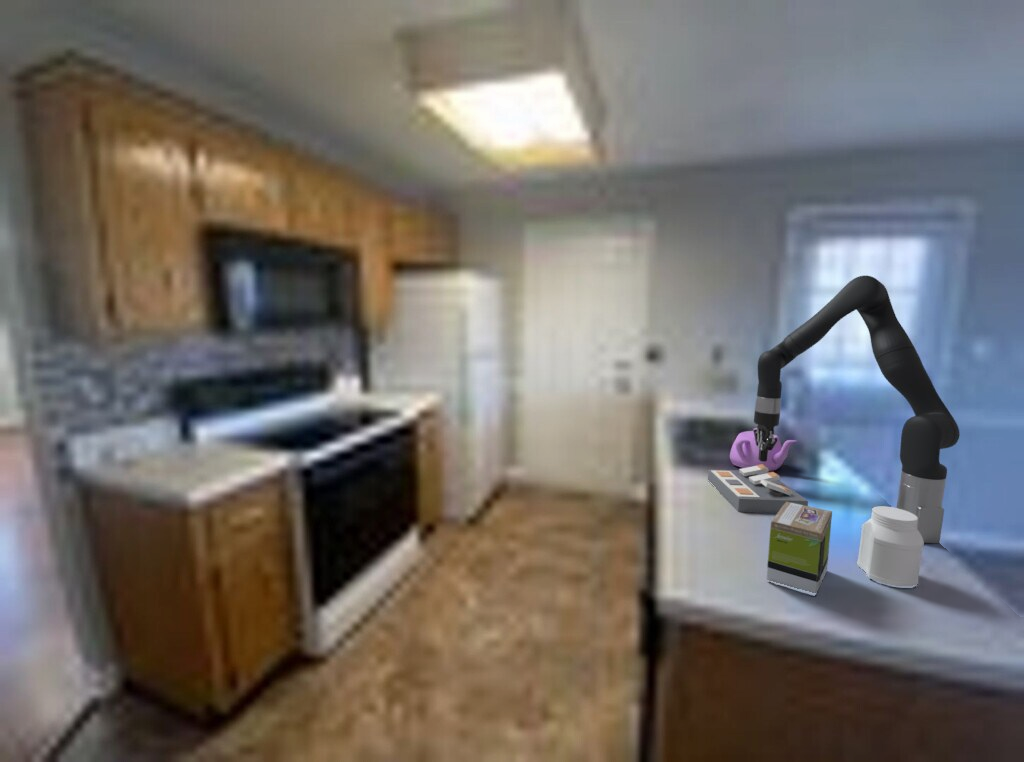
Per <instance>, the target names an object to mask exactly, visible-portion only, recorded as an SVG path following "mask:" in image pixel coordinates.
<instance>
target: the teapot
mask: <svg viewBox="0 0 1024 762" xmlns="http://www.w3.org/2000/svg"><path fill="white" fill-rule="evenodd" d="M754 429H757V427H755V428H753V430H747V431H742V432H740V433H738V435H737V436H736V439H735V440H734V441H733V443H732V446H731V449H730V453H729V459H730V461H731V463H732V464H733V465H734V466H736V467H739V468H740V469H742V468H747V467H752V466H756V465H760V464H763V465H764V466H766V467H767V468H768V470H769V472H774V471H776V470H778V469H779V468H780V467H781V466H782V465H783V464H784V461H785V460H786V459H787V458H788V453H789V449H790V446H791V445H792V444H794V443H796V442H797V440H795V439H788V440H786V441H785V442H784V443H783V445H782V443H781V440H780V438H779V436H778V435H777V434H774V438H777V442H776V444H775V446H774V447H773V449H772V450H769V451H768V455H767V461H766V462H763V461H760V460H759V459H758V457H759V449H758V446H756V441H755V436H754Z"/></svg>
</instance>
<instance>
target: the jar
mask: <svg viewBox="0 0 1024 762" xmlns="http://www.w3.org/2000/svg"><path fill="white" fill-rule="evenodd" d="M917 522H918V518H917V516H916V515H914V514H912V513H910V512H908V511H905V510H902V509H898V508H897V507H893V506H892V507H891V506H886V505H885V506H884V505H882V506H881V505H880V506H879V505H878V506H874V507H873V508H872V509H871V517H870V518H869V519H868V520H866V522H864V523H863V524H862V525H861V533H860V542H859V550H858V557H857V558H858V559H857V560H856V561H857V562H856V566H857V565H858V566H859V567H860V568H861V569H860V568H859V567H858V566H857V567H858V568H859V569H860V570H862V569H863V570H864V571H865V572H866V574H867V575H866V574H865V575H866V577H867V576H868V577H869V578H871V579H873V580H876V581H879V582H882V583H885V584H890V585H895V586H913V585H916V584H918V585H919V577H920V569H921V561H922V555H923V549H924V545H925V543H924V541H923V538H922V536H921V534H920V532H919V531H918V529H917ZM863 570H862V571H863ZM864 571H863V572H864ZM865 572H864V573H865Z"/></svg>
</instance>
